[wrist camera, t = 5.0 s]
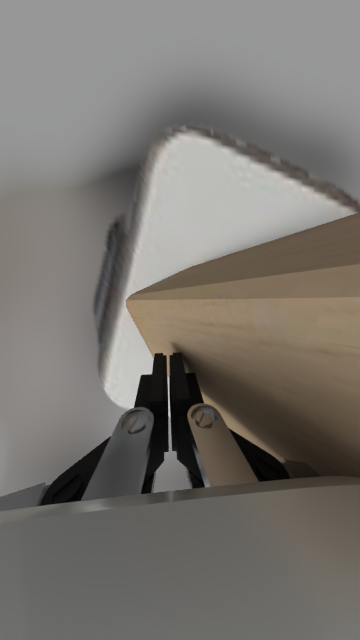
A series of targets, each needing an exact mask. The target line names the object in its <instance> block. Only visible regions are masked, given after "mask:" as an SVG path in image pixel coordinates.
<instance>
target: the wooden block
mask: <svg viewBox="0 0 360 640" xmlns="http://www.w3.org/2000/svg"><path fill="white" fill-rule="evenodd" d="M126 307H127V309H128V311H129V313H130V315H131V317H132V319H133V321H134V322H135V324H136V326H137V328H138V330H139V332H140V334H141V336H142V337H143V339H144V341H145V343H146V345H147V347H148V349H149V351H150V352H151V354H152V356H153V358H154V354H155V353H163V355H167V375H168V376H169V377H170V373H169V355H173V353H176V352H181V353H182V358H183V363H184V368H185V373H195V374H196V377H197V380H198V384H199V387H200V391H201V394H202V397H203V401H204V404H209V405H211V406H213V407H215V408H216V409H217V410H218V411H219V413H220V414H221V416H222V418H223V420H224V421H225V423H226V425H227V427H228V428H229V429H231V430H233V431H234V432H236V433H237V434H239V435H241V436H242V437H244V438H245V439H247V440H249V441H250V442H252V443H253V444H255V445H257V446H258V447H260V448H261V449H263V450H265V451H266V452H268V453H269V454H271V455H272V456H274V457H275V458H276V459H278V460H279V461H280V462H284V459H286V460H292V461H299V462H305V463H306V464H307V465H309V466H310V467H311V468H312V469H314V470H315V471H316V472H317V473H318V474H320V475H321V476H349V477H360V212H359V213H356V214H353V215H350V216H347V217H344V218H341V219H338V220H335V221H332V222H329V223H326V224H322V225H319V226H316V227H313V228H310V229H307V230H304V231H301V232H298V233H295V234H292V235H289V236H285V237H282V238H279V239H276V240H273V241H270V242H267V243H264V244H261V245H258V246H255V247H252V248H249V249H245V250H242V251H239V252H236V253H233V254H230V255H227V256H224V257H221V258H218V259H215V260H212V261H208V262H205V263H202V264H199V265H196V266H193V267H190V268H187V269H185V270H183V271H181V272H179V273H177V274H174V275H172V276H170V277H168V278H166V279H164V280H162V281H159V282H157V283H155V284H153V285H151V286H149V287H147V288H144V289H142V290H140V291H138V292H136V293H134V294H132V295H130V296H129V297H128V298H127V300H126Z"/></svg>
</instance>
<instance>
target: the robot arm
mask: <svg viewBox="0 0 360 640" xmlns="http://www.w3.org/2000/svg"><path fill="white" fill-rule="evenodd" d="M169 373H170V412H171V435H172V451H177V459H178V460H179V461H180V462H181V463H182V464H183V465H184V466H185V467H186V474H187V478H188V482H189V487H190V489H186V490H176V491H167V492H158V493H153V491H154V485H155V479H156V470H157V469H158V468H159V466H160V465H161V464H162V463H163V461H164V452H168V451H169V450H168V448H169V447H168V446H169V445H168V384H167V355H163V353H155V354H154V363H153V372H152V375H141V378H140V382H139V387H138V392H137V396H136V401H135V406H134V408H132V409H130V410H128V411H126V412H125V413H124V414H123V415H122V416H121V418H120V419H119V421H118V423H117V425H116V427H115V429H114V432H113V434H112V436H110V437H109V438H108V439H106V440H105V441H104V442H103V443H101V444H100V445H99V446H97V447H96V448H95V449H93V450H92V451H91V452H90V453H88V454H87V455H86V456H84V457H83V458H82V459H81V460H79V461H78V462H77V463H75V464H74V465H73V466H71V467H70V468H69V469H68V470H66V471H65V472H64V473H62V474H61V475H60V476H59V477H58V478H57V479H56V480H55V481H53V483H52V484H49V485H46V483H45V482H44V483H41V484H38V485H35V486H32V487H29V488H26V489H23V490H20V491H17V492H14V493H10V494H8V495H5V496H1V497H0V640H360V477H349V476H321V475H320V474H318V473H317V472H316V471H315V470H314V469H312V468H311V467H310V466H309V465H307V464H306V463H305V462H299V461H292V460H286V459H284V462H280V461H279V460H278V459H276V458H275V457H274V456H272V455H271V454H269V453H268V452H266V451H265V450H263V449H261V448H260V447H258V446H257V445H255V444H253V443H252V442H250V441H249V440H247V439H245V438H244V437H242V436H241V435H239V434H237V433H236V432H234V431H233V430H231V429H229V428H228V427H227V425H226V423H225V421H224V420H223V418H222V416H221V414H220V413H219V411H218V410H217V409H216V408H215V407H213V406H211V405H209V404H204V401H203V397H202V394H201V391H200V387H199V384H198V380H197V377H196V374H195V373H185V368H184V363H183V358H182V353H181V352H176V353H173V355H169Z"/></svg>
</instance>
